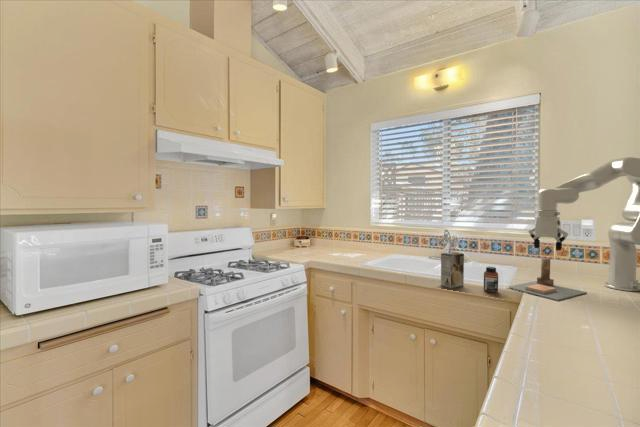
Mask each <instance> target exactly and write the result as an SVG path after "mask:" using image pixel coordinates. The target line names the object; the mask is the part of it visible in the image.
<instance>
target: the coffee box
mask: <svg viewBox="0 0 640 427" xmlns="http://www.w3.org/2000/svg"><path fill="white" fill-rule="evenodd" d="M464 266H465V254H464V253H460V252H456V251H452V252H444V253H440V286H443V287H445V288H448V289H449V288H450V289H453V288H459V287H463V286H464V283H465V282H464V281H465V280H464V277H465V274H464V273H465V272H464V270H465V267H464Z"/></svg>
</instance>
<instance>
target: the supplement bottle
mask: <svg viewBox="0 0 640 427" xmlns="http://www.w3.org/2000/svg"><path fill="white" fill-rule="evenodd" d="M483 291H484V292H486V293H491V294H495V293H498V292H499V273H498V272H497V267H496V266H486V269H485V271H484V272H483Z"/></svg>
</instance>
